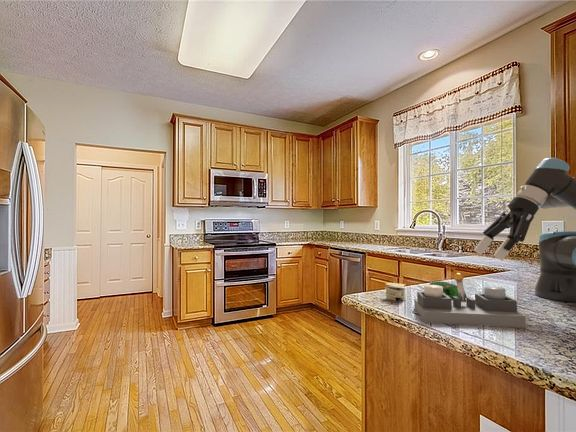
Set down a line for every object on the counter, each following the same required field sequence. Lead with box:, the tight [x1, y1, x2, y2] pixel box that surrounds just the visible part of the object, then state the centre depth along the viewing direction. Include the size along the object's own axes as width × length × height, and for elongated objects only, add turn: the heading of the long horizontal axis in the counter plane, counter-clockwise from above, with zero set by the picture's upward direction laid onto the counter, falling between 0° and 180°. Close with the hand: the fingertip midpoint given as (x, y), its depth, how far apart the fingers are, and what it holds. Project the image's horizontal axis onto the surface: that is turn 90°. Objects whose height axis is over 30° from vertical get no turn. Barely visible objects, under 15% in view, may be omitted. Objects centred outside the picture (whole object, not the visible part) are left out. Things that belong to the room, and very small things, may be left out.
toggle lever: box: [453, 272, 466, 302], centre depth 88 cm, size 3×3×8 cm
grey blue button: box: [483, 285, 507, 300], centre depth 84 cm, size 5×5×3 cm
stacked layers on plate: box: [384, 282, 406, 301], centre depth 106 cm, size 10×9×6 cm
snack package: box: [428, 281, 468, 300], centre depth 109 cm, size 7×16×5 cm, turn 2°
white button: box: [423, 284, 443, 298], centre depth 87 cm, size 5×5×3 cm
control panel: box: [413, 291, 527, 329], centre depth 86 cm, size 24×14×6 cm, turn 78°
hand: (486, 255), depth 99 cm, fingers open, 13 cm apart
